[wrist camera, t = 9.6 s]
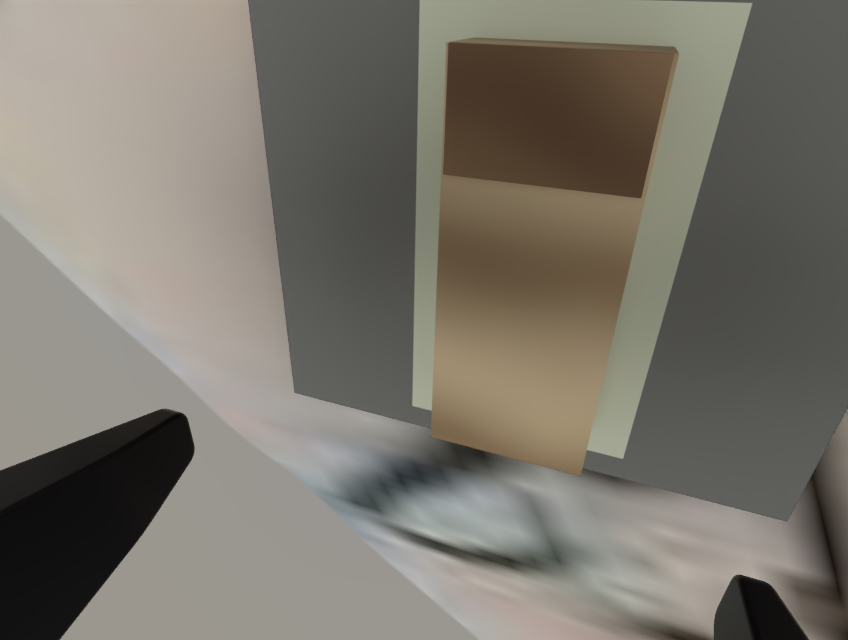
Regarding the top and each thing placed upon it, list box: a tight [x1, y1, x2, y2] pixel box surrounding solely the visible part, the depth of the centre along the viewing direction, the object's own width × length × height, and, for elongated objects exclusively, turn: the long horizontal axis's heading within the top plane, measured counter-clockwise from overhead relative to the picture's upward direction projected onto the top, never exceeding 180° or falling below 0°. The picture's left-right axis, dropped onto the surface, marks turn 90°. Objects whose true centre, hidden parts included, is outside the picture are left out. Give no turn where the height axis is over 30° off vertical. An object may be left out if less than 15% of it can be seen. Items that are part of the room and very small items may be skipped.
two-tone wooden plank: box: [431, 37, 679, 476], centre depth 16 cm, size 12×5×3 cm, turn 178°
